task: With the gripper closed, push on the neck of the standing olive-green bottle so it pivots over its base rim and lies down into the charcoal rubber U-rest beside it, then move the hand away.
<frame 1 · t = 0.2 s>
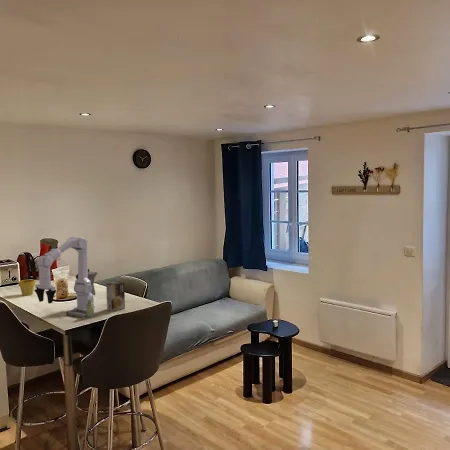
hand: (45, 302, 240), 10 cm above the table, tool pointing down, fingers open, 7 cm apart
coffeepot: (87, 295, 301), on the table
plant pot: (27, 295, 302), on the table
u rest: (79, 314, 251), on the table
bottle: (90, 316, 247), on the table
coffee box: (116, 309, 264), on the table
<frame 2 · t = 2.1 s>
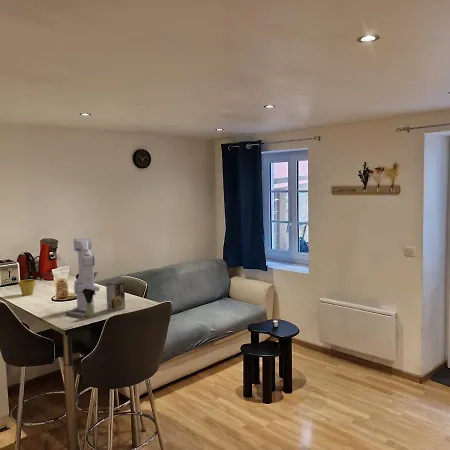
hand: (89, 302, 237), 10 cm above the table, tool pointing down, fingers closed
nothing on the table moved.
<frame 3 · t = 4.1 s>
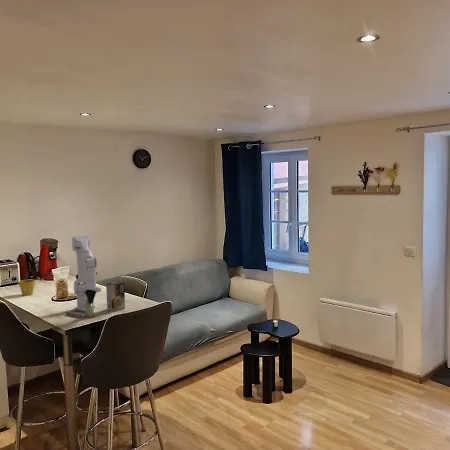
hand: (91, 303, 245), 8 cm above the table, tool pointing down, fingers closed
bottle: (90, 316, 247), on the table, tilted 8°, touching gripper
everything else where it was.
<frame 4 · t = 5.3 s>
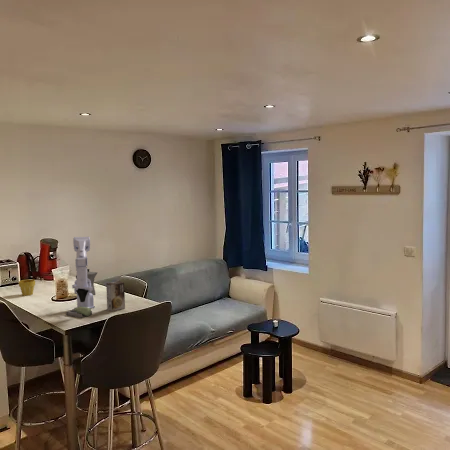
hand: (82, 301, 249), 8 cm above the table, tool pointing down, fingers closed
bottle: (88, 311, 247), point 3 cm above the table, tilted 90°, touching u rest
everything else where it was.
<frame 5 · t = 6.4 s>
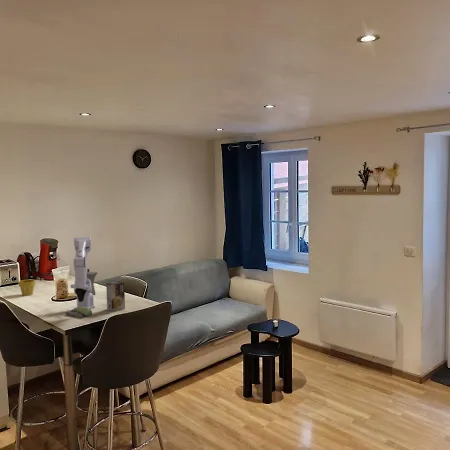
hand: (81, 301, 250), 8 cm above the table, tool pointing down, fingers closed
nothing on the table moved.
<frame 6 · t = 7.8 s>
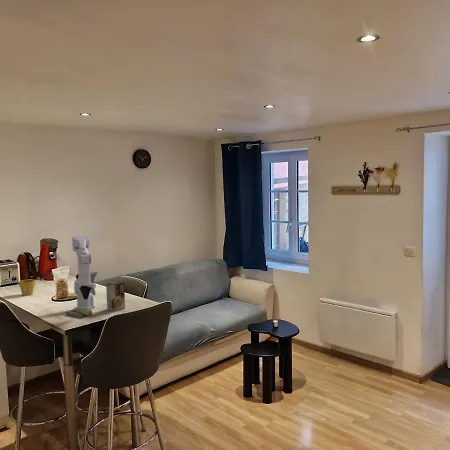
hand: (85, 299, 247), 10 cm above the table, tool pointing down, fingers closed
nothing on the table moved.
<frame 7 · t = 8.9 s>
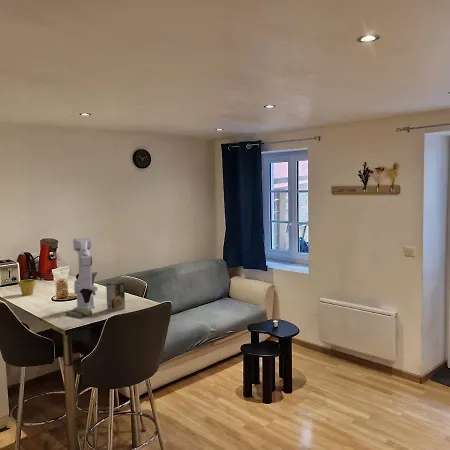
hand: (86, 302, 237), 10 cm above the table, tool pointing down, fingers closed
nothing on the table moved.
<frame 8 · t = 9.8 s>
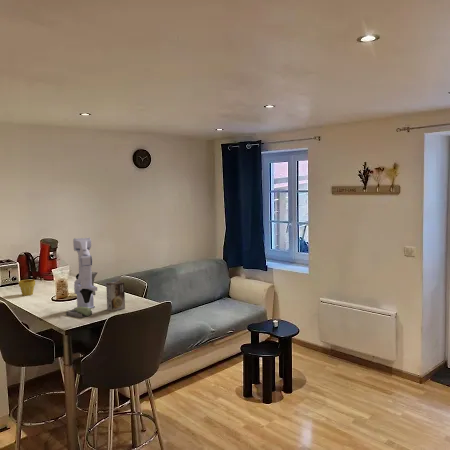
hand: (86, 302, 237), 10 cm above the table, tool pointing down, fingers closed
nothing on the table moved.
at the end: bottle tilted 90°; bottle inside the target area on the u rest (3.8 cm from its centre), point 2.8 cm above the u rest's base; bottle point 2.8 cm above the table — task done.
